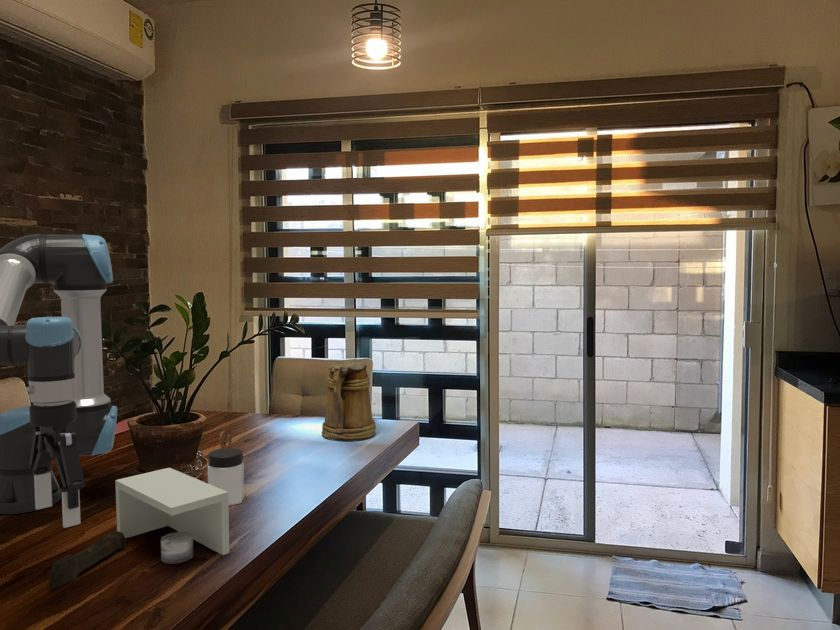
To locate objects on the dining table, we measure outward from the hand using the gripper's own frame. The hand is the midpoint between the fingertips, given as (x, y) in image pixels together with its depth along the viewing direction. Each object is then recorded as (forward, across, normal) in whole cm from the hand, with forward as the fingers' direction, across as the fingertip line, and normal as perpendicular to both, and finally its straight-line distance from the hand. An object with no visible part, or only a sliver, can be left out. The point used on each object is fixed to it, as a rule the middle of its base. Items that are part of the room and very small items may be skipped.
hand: (57, 516), depth 126 cm
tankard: (+11, -38, +104) cm, 112 cm away
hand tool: (+12, 0, +5) cm, 13 cm away
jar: (+11, -13, +43) cm, 47 cm away
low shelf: (+12, +2, +21) cm, 24 cm away
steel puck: (+12, +8, +19) cm, 24 cm away
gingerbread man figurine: (+11, -32, +54) cm, 64 cm away
